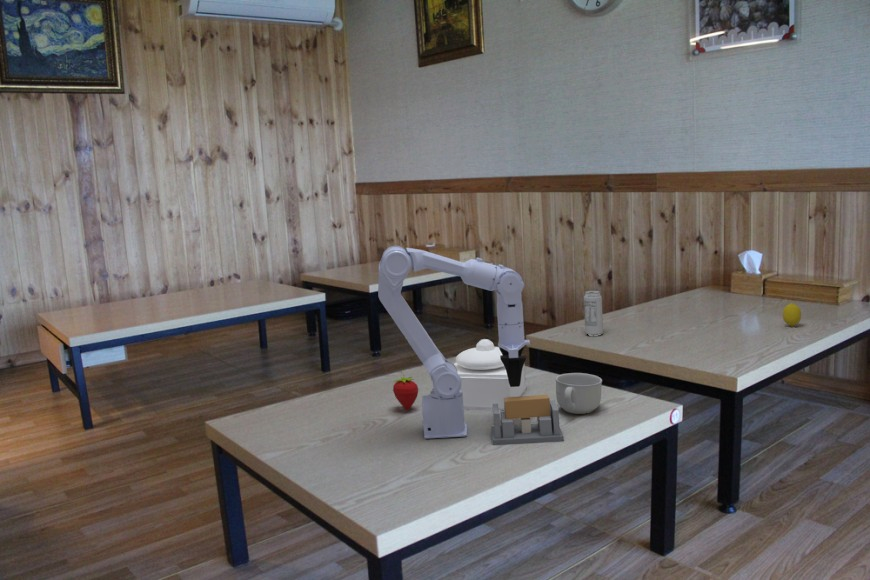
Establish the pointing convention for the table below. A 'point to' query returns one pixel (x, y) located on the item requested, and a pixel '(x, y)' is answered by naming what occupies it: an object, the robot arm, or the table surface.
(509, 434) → the display stand
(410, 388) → the strawberry
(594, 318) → the energy drink can
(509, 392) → the butter dish
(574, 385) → the teacup
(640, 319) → the table surface
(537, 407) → the orange-brown rectangular block
